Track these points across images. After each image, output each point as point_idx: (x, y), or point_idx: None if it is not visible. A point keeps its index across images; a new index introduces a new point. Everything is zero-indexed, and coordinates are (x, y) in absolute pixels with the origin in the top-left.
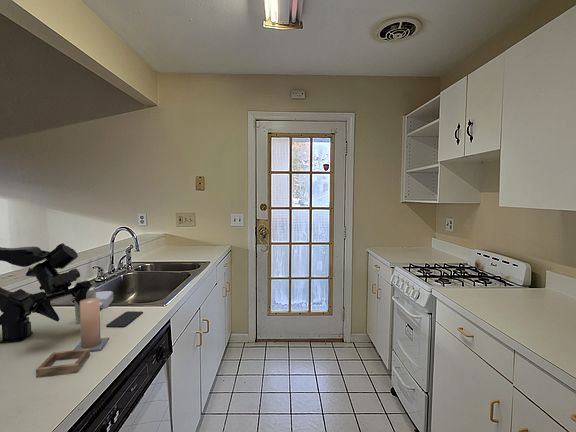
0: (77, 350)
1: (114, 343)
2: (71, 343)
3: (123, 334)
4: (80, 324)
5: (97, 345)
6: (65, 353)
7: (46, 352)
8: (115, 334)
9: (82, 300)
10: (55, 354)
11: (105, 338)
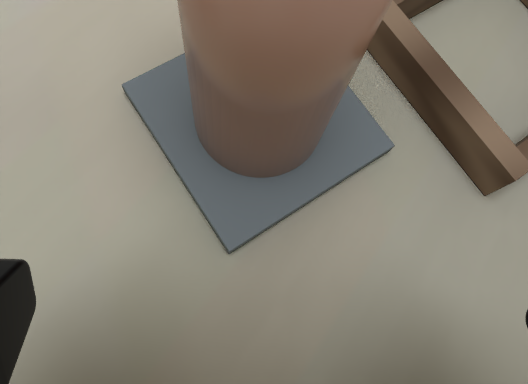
0: (419, 47)
1: (170, 11)
2: (279, 311)
3: (19, 57)
4: (368, 44)
5: None
6: (470, 99)
7: (458, 349)
8: (33, 113)
9: None
10: (514, 146)
11: (145, 96)
